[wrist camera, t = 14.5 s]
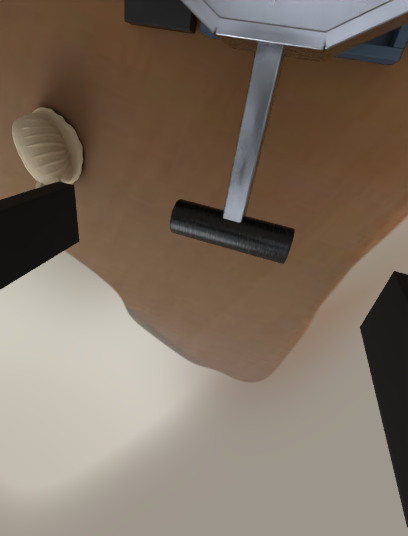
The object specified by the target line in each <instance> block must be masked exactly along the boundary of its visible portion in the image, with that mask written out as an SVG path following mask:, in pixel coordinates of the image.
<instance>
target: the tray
mask: <svg viewBox="0 0 408 536" xmlns="http://www.w3.org/2000/svg"><path fill="white" fill-rule="evenodd" d="M200 32H201V33H202V34H204V35H205V36H207V37H208V38H213V39H219V38H218V37H217V36H215V35H214V34H213V33H212V32H211V31H210V30H209V29H208V28H207V27H206V26H205V25H204V24H203V23H202V22H201V25H200ZM220 40H221V39H220ZM407 40H408V23H407V24H405V25H403V26H401V27H398V28H396V29H394V30H392V31H389V32H387V33H385V34H382V35H380V36H378V37H376V38H373V39H371V40H369V41H367V42H364V43H362V44H360V45H358V46H355V47H353V48H351V49H349V50H346V51H344V52H342V53H340V54H337V55H335V56H333V57H340V58H347V59H353V60H360V61H367V62H373V63H380V64H387V65H392V64H394V63H396V62H398V61H399V60H400V57H401V55H402V52H403V50H404V49H403V48H404V47H405V45H406V43H407Z"/></svg>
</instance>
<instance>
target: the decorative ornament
mask: <svg viewBox="0 0 408 536" xmlns="http://www.w3.org/2000/svg"><path fill="white" fill-rule="evenodd" d="M12 136H13V140H14V143H15V146H16V148H17V151H18V153H19V155H20V157H21V159H22V161H23V163H24V165H25V167H26V169H27V170H28V171H29V173H30V174H31V175H32V176H33V177H34V178H35V179H36V180H37V182H36V187H35V189H36V188H39V187H43V186H44V184H46V185H49V184H52V183H55V182H58V181H60V182H64V183H67V184H71V183H73V182H74V181H76V180H78V179H79V176H80V174H81V172H82V164H83V156H82V154H83V147H82V144H81V142H80V141H79V138H78V136H77V133H76V131H75V130H74V128H73V127H72V126H71V125H69V124H68V123H66V122H65V120H64V118H63V117H62V116H60V115H57V114H56V113H55V112H54V111H53V110H52V109H49V108H44V107H39V108H37V109H36V110H35V111H34V112H33V113H30V114H27V115H24V116H21V117H19V118H17V119H16V120H15V122H14V123H13V125H12Z"/></svg>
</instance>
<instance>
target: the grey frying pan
mask: <svg viewBox="0 0 408 536" xmlns="http://www.w3.org/2000/svg"><path fill="white" fill-rule="evenodd" d="M180 1H181V2H182V3H183V4H184V5H185V6H186V7H187V8H188V9H189V10H190V11H191V12H192V13H193V14H194V15H195V16H196V17H197V18H198V19H199V20H200V21H201V22H202V23H203V24H204V25H205V26H206V27H207V28H208V29H209V30H210V31H211V32H212V33H213V34H214V35H215V36H217V37H218V38H219V39H221V40H222V41H223V42H224V43H226V44H227V45H228V46H230V47H232V48H234V49H241V50H247V51H254V52H255V57H254V62H253V66H252V71H251V76H250V81H249V86H248V91H247V96H246V101H245V106H244V111H243V116H242V121H241V126H240V131H239V136H238V141H237V146H236V151H235V156H234V161H233V166H232V171H231V176H230V181H229V186H228V191H227V196H226V201H225V206H224V210H220V209H217V208H213V207H209V206H205V205H201V204H197V203H194V202H190V201H186V200H182V199H180V200H178V201H177V202H176V204H175V206H174V208H173V211H172V214H171V220H170V229H171V231H172V232H173V233H176V234H179V235H183V236H186V237H190V238H193V239H197V240H200V241H204V242H207V243H211V244H214V245H218V246H222V247H225V248H229V249H232V250H236V251H239V252H243V253H246V254H250V255H253V256H257V257H260V258H264V259H267V260H271V261H274V262H278V263H281V264H284V263H285V261H286V259H287V256H288V253H289V251H290V247H291V244H292V241H293V237H294V232H295V229H293V228H290V227H286V226H282V225H278V224H274V223H270V222H267V221H263V220H259V219H255V218H251V217H247V216H245V215H246V211H247V207H248V203H249V199H250V195H251V191H252V187H253V183H254V179H255V175H256V171H257V167H258V163H259V158H260V154H261V150H262V146H263V142H264V138H265V134H266V130H267V126H268V122H269V118H270V114H271V110H272V105H273V101H274V97H275V93H276V89H277V85H278V81H279V77H280V73H281V69H282V65H283V61H284V57H285V56H286V57H293V58H299V59H306V60H312V61H318V62H319V61H320V60H322V61H324V60H326V59H328V58H331V57H333V56H335V55H337V54H340V53H342V52H344V51H346V50H349V49H351V48H353V47H355V46H358V45H360V44H362V43H364V42H367V41H369V40H371V39H373V38H376V37H378V36H380V35H382V34H385V33H387V32H389V31H392V30H394V29H396V28H398V27H401V26H403V25H405V24H407V23H408V0H180Z"/></svg>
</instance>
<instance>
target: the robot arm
mask: <svg viewBox="0 0 408 536" xmlns="http://www.w3.org/2000/svg"><path fill="white" fill-rule="evenodd" d="M77 242H79V233H78V222H77V211H76V200H75V189H74V185H71V184H67V183H64V182H60V181H58V182H55V183H52V184H49V185H46V186H43V187H39V188H36V189H33V190H30V191H27V192H24V193H21V194H17V195H14V196H11V197H8V198H5V199H2V200H0V289H2V288H4V287H5V286H7V285H9V284H10V283H12V282H13V281H15V280H17V279H18V278H20V277H22V276H23V275H25V274H27V273H28V272H30V271H31V270H33V269H35V268H36V267H38V266H40V265H41V264H43V263H45V262H46V261H48V260H49V259H51V258H53V257H54V256H56V255H58V254H59V253H61V252H62V251H64V250H66V249H67V248H69V247H71V246H72V245H74V244H76V243H77ZM360 329H361V334H362V338H363V342H364V346H365V351H366V355H367V359H368V363H369V367H370V372H371V376H372V380H373V385H374V389H375V393H376V397H377V401H378V406H379V410H380V414H381V418H382V423H383V427H384V431H385V435H386V439H387V444H388V448H389V452H390V456H391V461H392V465H393V469H394V473H395V477H396V482H397V486H398V490H399V494H400V499H401V503H402V507H403V512H404V516H405V520H406V524H407V527H408V275H406V274H403V273H399V272H396V271H394V272H393V274H392V275H391V277H390V279H389V280H388V282H387V284H386V285H385V287H384V289H383V290H382V292H381V294H380V295H379V297H378V299H377V300H376V302H375V304H374V305H373V307H372V308H371V310H370V312H369V313H368V315H367V317H366V318H365V320H364V322H363V323H362V325H361V326H360Z"/></svg>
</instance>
